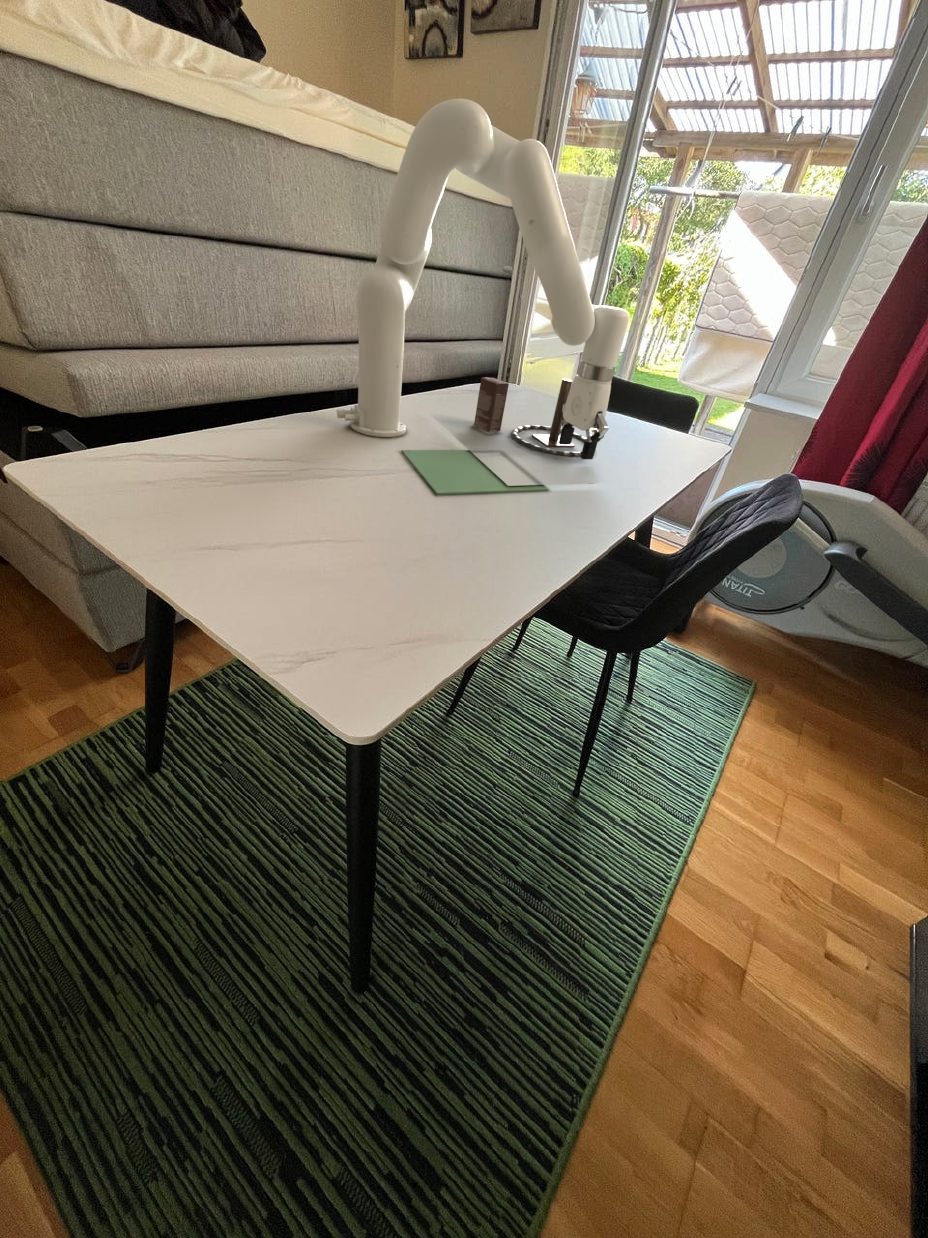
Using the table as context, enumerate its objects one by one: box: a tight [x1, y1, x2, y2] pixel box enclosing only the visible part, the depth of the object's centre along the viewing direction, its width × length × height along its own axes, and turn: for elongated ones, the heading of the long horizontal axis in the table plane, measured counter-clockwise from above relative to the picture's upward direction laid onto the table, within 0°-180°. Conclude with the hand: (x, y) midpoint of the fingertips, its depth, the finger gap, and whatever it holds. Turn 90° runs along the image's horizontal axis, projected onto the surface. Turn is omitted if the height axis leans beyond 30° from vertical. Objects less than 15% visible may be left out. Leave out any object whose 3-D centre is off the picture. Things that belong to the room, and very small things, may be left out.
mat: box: [401, 449, 549, 496], centre depth 107 cm, size 24×22×1 cm
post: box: [531, 378, 576, 448], centre depth 125 cm, size 8×8×15 cm
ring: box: [510, 424, 587, 458], centre depth 129 cm, size 21×21×2 cm
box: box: [473, 377, 510, 433], centre depth 128 cm, size 6×4×12 cm
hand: (575, 451), depth 122 cm, fingers open, 9 cm apart
